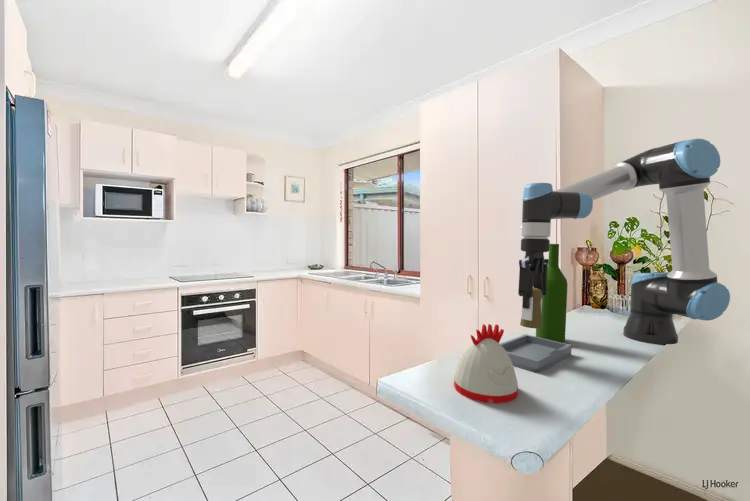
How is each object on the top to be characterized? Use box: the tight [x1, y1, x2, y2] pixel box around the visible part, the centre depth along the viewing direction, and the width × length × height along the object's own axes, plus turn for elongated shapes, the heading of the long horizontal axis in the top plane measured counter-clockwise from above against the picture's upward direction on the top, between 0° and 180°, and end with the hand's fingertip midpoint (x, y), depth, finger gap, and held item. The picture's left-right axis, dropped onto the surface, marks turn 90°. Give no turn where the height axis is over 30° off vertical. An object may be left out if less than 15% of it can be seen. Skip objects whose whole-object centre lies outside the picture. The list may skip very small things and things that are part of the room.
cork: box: [519, 288, 543, 329], centre depth 103 cm, size 6×6×11 cm
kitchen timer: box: [453, 323, 519, 404], centre depth 81 cm, size 14×14×15 cm
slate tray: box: [499, 334, 573, 374], centre depth 104 cm, size 22×14×3 cm, turn 131°
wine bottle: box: [535, 243, 568, 343], centre depth 120 cm, size 9×9×32 cm
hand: (531, 318), depth 103 cm, fingers closed on cork, 5 cm apart
